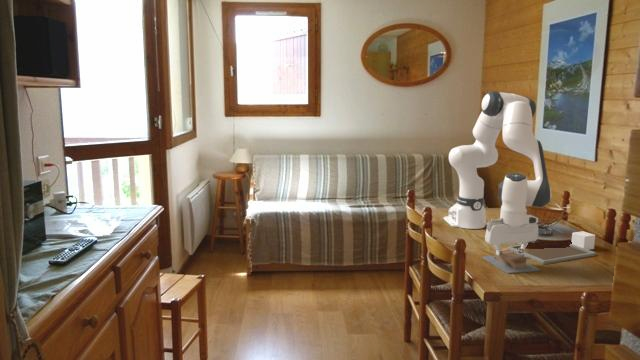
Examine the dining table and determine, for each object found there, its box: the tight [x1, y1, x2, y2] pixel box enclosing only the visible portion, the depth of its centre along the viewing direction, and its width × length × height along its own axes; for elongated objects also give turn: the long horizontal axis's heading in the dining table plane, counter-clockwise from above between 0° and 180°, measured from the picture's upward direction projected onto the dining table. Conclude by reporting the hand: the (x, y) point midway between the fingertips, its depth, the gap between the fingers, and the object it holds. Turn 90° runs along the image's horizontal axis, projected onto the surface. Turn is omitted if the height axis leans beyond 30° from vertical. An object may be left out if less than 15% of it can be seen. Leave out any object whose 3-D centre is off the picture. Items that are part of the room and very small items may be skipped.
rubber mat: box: [481, 255, 541, 275], centre depth 181 cm, size 17×13×1 cm
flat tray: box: [506, 243, 597, 265], centre depth 194 cm, size 19×2×30 cm
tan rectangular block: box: [494, 247, 527, 269], centre depth 181 cm, size 11×5×4 cm, turn 20°
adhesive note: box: [571, 230, 596, 251], centre depth 200 cm, size 6×6×6 cm
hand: (510, 253), depth 181 cm, fingers open, 8 cm apart
